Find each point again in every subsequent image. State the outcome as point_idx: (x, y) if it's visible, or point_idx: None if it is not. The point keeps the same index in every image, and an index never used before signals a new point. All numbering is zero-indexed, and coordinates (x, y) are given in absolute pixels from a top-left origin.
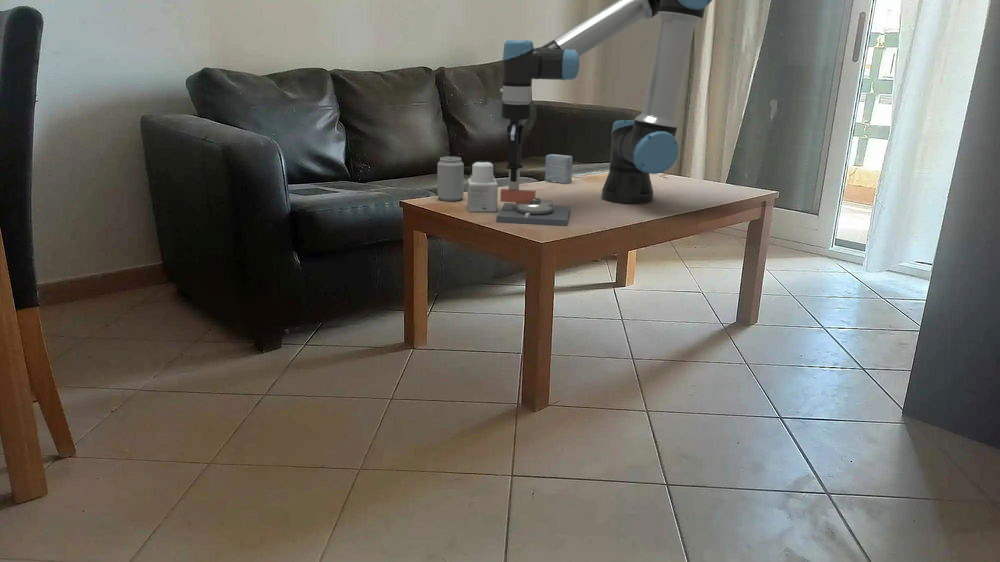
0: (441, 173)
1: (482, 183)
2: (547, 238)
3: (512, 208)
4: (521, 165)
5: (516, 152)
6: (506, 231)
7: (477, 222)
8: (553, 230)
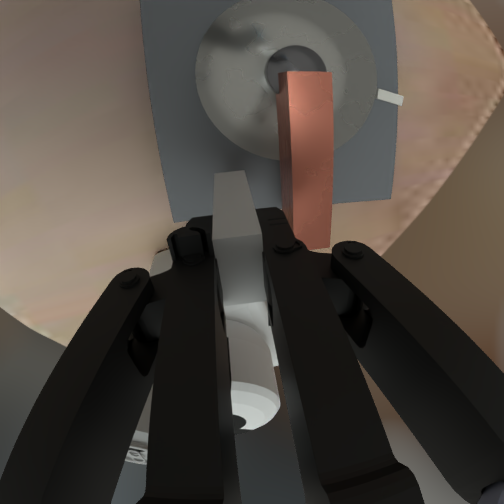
0: None
1: (271, 336)
2: (489, 54)
3: (263, 169)
4: (172, 247)
5: (464, 344)
6: (460, 150)
7: (388, 238)
8: (433, 22)
